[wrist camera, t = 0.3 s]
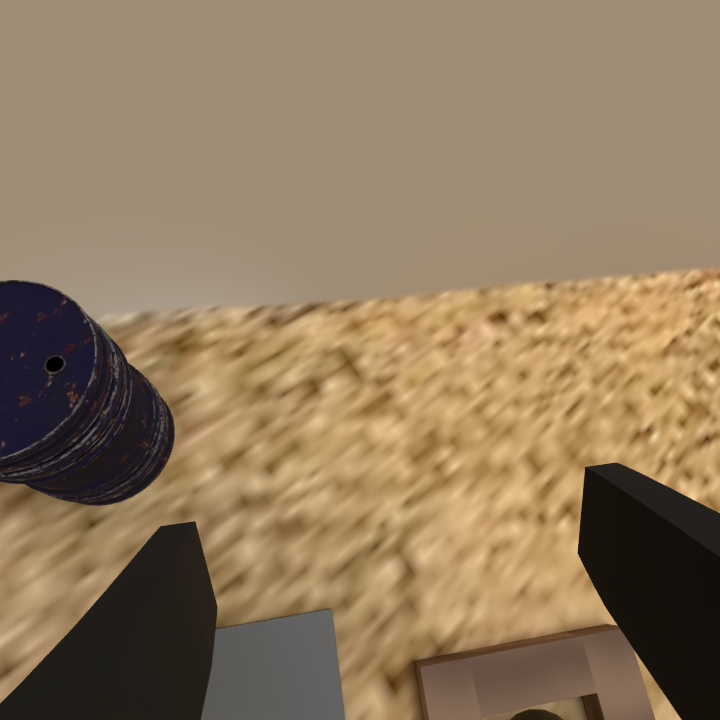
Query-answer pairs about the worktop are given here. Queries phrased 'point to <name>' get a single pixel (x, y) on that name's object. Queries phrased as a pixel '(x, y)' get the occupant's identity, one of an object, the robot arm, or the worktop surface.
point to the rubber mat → (276, 671)
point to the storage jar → (73, 403)
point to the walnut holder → (537, 677)
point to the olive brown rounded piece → (536, 715)
